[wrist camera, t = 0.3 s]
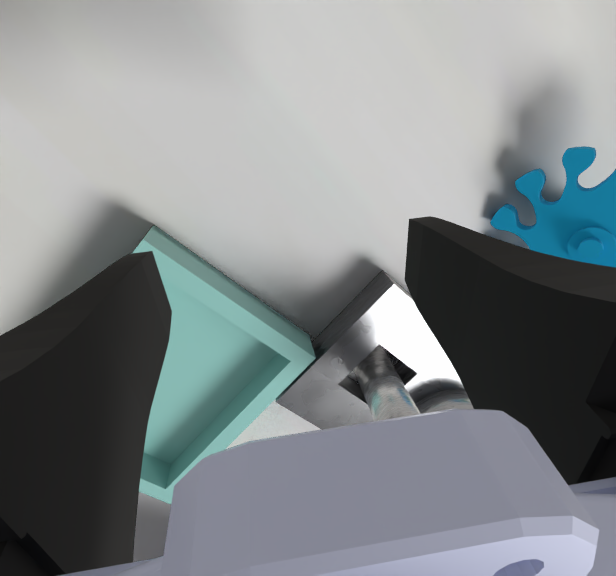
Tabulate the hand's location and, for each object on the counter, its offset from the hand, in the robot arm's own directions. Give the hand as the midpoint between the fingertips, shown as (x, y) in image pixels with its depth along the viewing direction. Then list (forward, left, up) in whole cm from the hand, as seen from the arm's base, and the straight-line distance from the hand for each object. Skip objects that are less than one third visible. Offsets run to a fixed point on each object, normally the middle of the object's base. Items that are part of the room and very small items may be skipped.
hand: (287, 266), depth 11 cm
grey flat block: (-4, -15, -11) cm, 19 cm away
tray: (-12, -2, -11) cm, 16 cm away
